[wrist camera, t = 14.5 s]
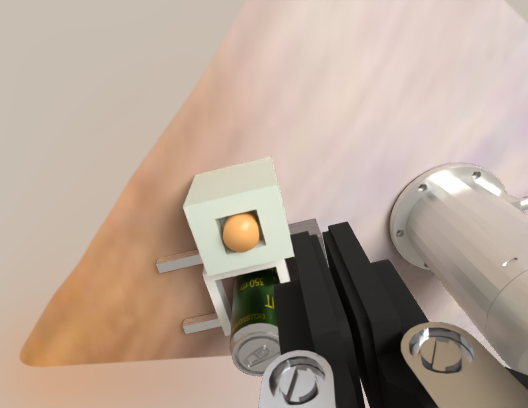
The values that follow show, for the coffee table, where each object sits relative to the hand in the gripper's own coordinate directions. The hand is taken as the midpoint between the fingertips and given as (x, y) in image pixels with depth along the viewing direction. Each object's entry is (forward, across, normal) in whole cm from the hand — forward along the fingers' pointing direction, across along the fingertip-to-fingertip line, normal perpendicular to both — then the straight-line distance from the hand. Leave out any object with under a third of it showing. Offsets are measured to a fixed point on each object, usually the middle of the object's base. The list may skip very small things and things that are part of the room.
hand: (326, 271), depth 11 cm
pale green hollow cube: (+27, +5, +8) cm, 29 cm away
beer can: (+27, +6, +18) cm, 33 cm away
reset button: (+21, +5, +8) cm, 23 cm away
